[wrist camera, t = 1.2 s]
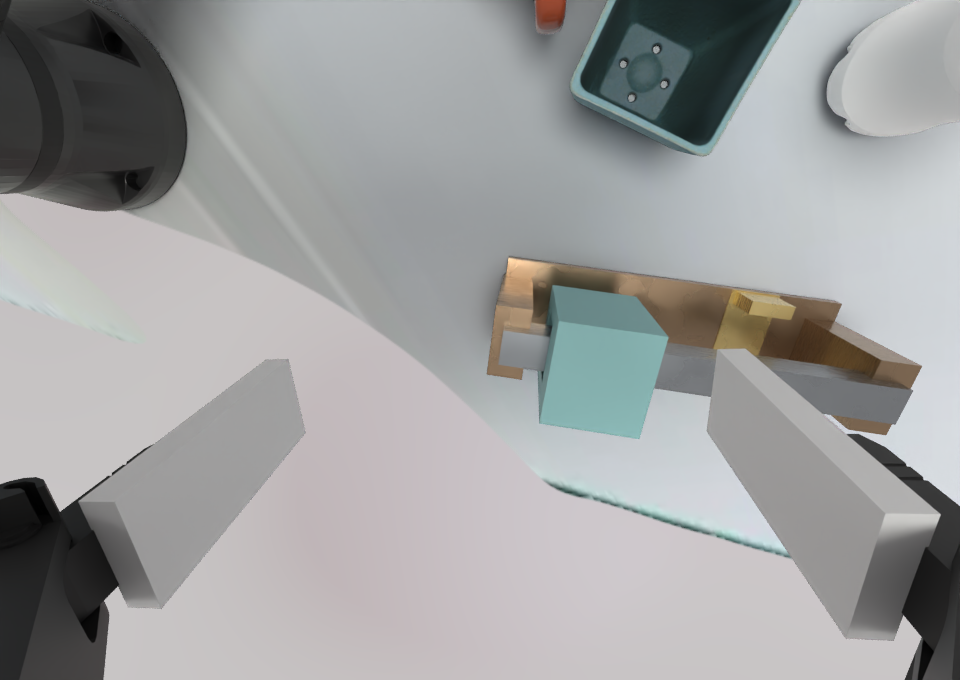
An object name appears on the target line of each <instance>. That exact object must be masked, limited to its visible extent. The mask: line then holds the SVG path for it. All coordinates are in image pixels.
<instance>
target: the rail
mask: <svg viewBox="0 0 960 680" xmlns="http://www.w3.org/2000/svg"><path fill="white" fill-rule="evenodd" d="M552 285H557V286H564V287H571V288H578V289H585V290H592V291H599V292H607V293H614V294H621V295H628V296H635V297H637V298H638V300H639V301H640V302H641V303H642V305H643V306H644V307H645V308H646V309H647V311H648V312H649V313H650V314H651V316H652V317H653V318H654V319H655V321H656V322H657V323H658V324H659V326H660V327H661V328H662V329H663V331H664V332H665V333H666V334H667V336H668V337H669V338H668V341H667V345H666V348H665V352H664V355H663V358H662V362H661V365H660V369H659V372H658V376H657V379H656V383H655V386H654V388H656V389H663V390H669V391H676V392H683V393H689V394H696V395H703V396H709V397H711V395H712V387H713V379H714V372H715V364H716V356H717V349H747V350H748V351H749V352H750V353H751V354H752V355H754V356H755V357H756V358H757V359H758V360H760V361H761V362H762V363H763V364H764V365H765V366H767V367H768V368H769V369H770V370H771V371H773V372H774V373H775V374H776V375H777V376H778V377H780V378H781V379H782V380H783V381H784V382H785V383H787V384H788V385H789V386H790V387H791V388H793V389H794V390H795V391H796V392H797V393H798V394H800V395H801V396H802V397H803V398H804V399H805V400H807V401H808V402H809V403H810V404H811V405H813V406H814V407H815V408H816V409H817V410H818V411H820V412H821V413H822V414H828V415H831V416H833V417H834V418H835V419H836V420H837V421H839V422H840V423H841V424H842V425H843V426H845V427H846V428H847V429H849V430H855V431H862V432H868V433H875V434H881V435H886V434H887V433H888V431H889V429H890V427H891V425H892V424H896V422H897V420H898V419H899V417H900V415H901V413H902V411H903V409H904V407H905V405H906V403H907V401H908V400H909V398H910V396H911V394H912V392H913V390H911V387H912V385H913V383H914V381H915V379H916V377H917V375H918V373H919V371H920V369H921V367H922V366H921V365H919V364H917V363H915V362H913V361H911V360H909V359H907V358H905V357H903V356H901V355H899V354H897V353H895V352H893V351H891V350H890V349H888V348H886V347H884V346H882V345H880V344H878V343H876V342H874V341H872V340H870V339H868V338H866V337H864V336H862V335H860V334H858V333H856V332H854V331H852V330H850V329H848V328H846V327H844V326H842V325H840V324H839V323H837V322H835V319H836V316H837V314H838V312H839V309H840V307H841V305H842V304H841V303H838V302H836V301H831V300H823V299H816V298H809V297H802V296H794V295H787V294H780V293H772V292H765V291H758V290H751V289H743V288H736V287H729V286H721V285H714V284H707V283H700V282H692V281H685V280H678V279H670V278H663V277H656V276H649V275H641V274H634V273H627V272H619V271H612V270H605V269H598V268H590V267H583V266H576V265H568V264H561V263H554V262H547V261H539V260H532V259H525V258H517V257H510V256H509V259H508V266H507V273H506V274H504V276H503V280H502V284H501V288H500V292H499V296H498V300H497V304H496V310H495V317H494V325H493V332H492V339H491V347H490V354H489V361H488V369H487V374H488V375H494V376H501V377H507V378H514V379H520V380H522V374H523V368H524V369H530V370H537V371H544V369H545V363H546V358H547V353H548V347H549V342H550V337H551V331H552V325H545V324H546V318H547V313H548V307H549V302H550V296H551V291H552Z"/></svg>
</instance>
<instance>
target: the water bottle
mask: <svg viewBox="0 0 960 680" xmlns="http://www.w3.org/2000/svg"><path fill="white" fill-rule="evenodd" d="M847 50H848V52H849V53H848V54H847V55H846V56H845V57H844V58H843V59H842V60H841V61H840V62H839V63H838V64H837V65H836V67H835V68H834V70H833V72H832V74H831V76H830V78H829V80H828V84H827V101H828V104H829V106H830V107H831V109H832V110H833V112H834V113H836V114H837V115H839V116H841V117H844V118H845V119H847V120H846V121H845V125H846V126H847V127H848V128H849V129H850V130H851V131H854V132H857V133H860V134H863V135H868V136H876V137H885V136H901V135H909V134H914V133H918V132H921V131H924V130H928V129H930V128H933V127H935V126H939V125H942V124H946V123H953V122H960V0H918V1H915V2H913V3H911V4H908V5H906V6H904V7H901V8H899V9H897V10H895V11H893V12H891V13H889V14H887V15H885V16H884V17H882V18H880V19H878V20H876V21H875V22H874V23H872V24H871V25H870V26H868V27H867V28H866V29H864V30H863V31H862V32H860V33H859V34H858V35H857V36H856V37H855V38H854V39H853V41H852V42H851V44H850V45H849V46H848V48H847Z"/></svg>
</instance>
